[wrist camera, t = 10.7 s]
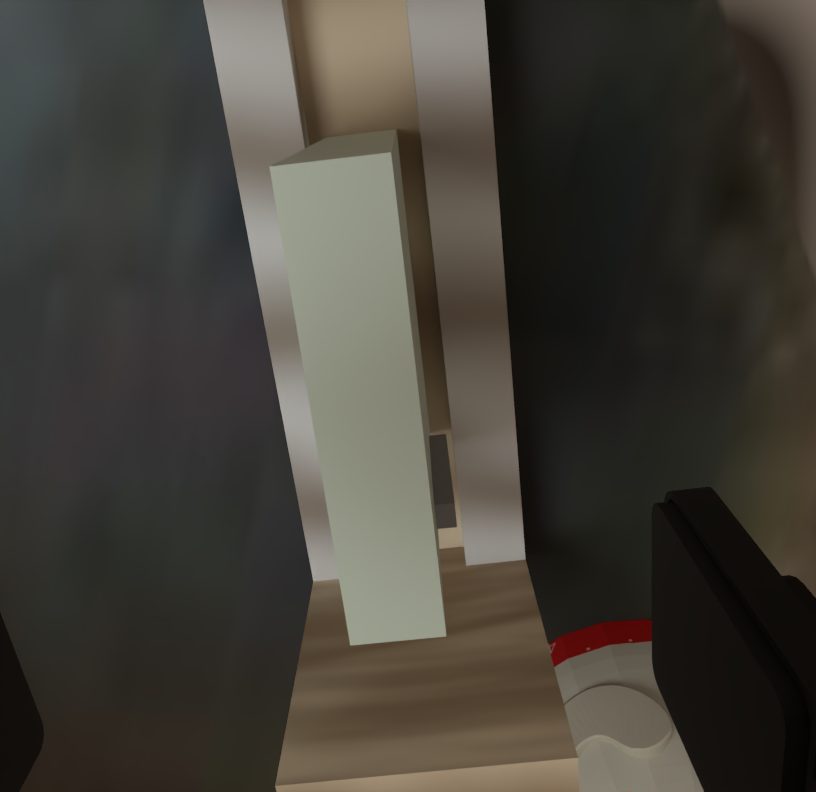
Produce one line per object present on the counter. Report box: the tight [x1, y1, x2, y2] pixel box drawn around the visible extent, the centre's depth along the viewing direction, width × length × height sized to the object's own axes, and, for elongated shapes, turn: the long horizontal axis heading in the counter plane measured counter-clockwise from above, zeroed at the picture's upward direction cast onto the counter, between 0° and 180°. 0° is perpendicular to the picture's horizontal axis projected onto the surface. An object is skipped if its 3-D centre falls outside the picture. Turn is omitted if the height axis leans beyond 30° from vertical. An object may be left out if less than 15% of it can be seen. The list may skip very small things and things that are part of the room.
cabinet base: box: [203, 0, 580, 792], centre depth 25 cm, size 26×9×13 cm, turn 7°
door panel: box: [269, 129, 457, 646], centre depth 24 cm, size 12×3×13 cm, turn 6°
